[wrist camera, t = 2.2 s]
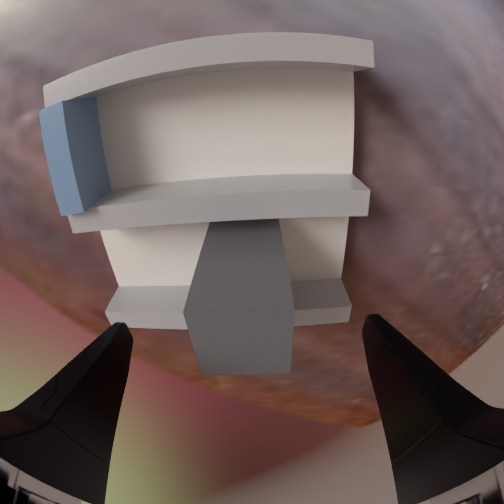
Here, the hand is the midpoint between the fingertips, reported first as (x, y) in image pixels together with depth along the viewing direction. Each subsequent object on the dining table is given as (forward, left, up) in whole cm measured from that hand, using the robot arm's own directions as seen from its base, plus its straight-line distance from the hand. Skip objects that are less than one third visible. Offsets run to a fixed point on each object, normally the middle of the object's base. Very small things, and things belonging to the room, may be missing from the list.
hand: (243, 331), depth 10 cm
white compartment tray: (+2, -3, -7) cm, 8 cm away
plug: (0, 0, -6) cm, 6 cm away
